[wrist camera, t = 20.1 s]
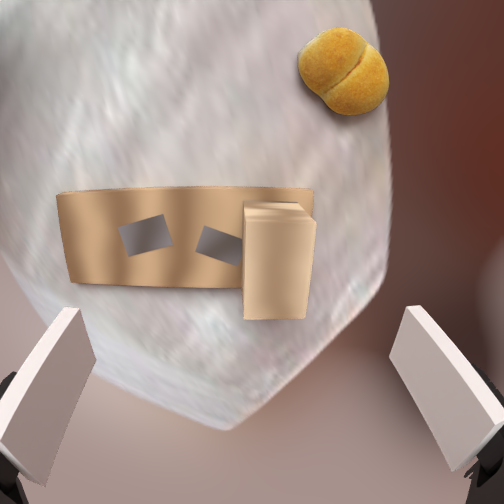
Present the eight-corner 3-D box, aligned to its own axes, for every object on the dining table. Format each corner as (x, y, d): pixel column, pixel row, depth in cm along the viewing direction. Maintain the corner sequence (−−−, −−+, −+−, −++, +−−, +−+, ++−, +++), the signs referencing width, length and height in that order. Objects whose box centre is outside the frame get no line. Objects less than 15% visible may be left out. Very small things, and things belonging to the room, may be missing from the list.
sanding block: (241, 279, 30) (243, 319, 24) (242, 200, 27) (246, 221, 21) (290, 279, 31) (305, 318, 24) (297, 201, 28) (316, 223, 21)
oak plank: (76, 276, 31) (70, 282, 30) (63, 192, 27) (55, 195, 26) (301, 281, 32) (304, 288, 31) (310, 189, 29) (314, 191, 27)
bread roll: (349, 130, 27) (364, 130, 23) (281, 68, 24) (288, 58, 21) (396, 80, 25) (416, 75, 21) (334, 19, 22) (347, 6, 19)
